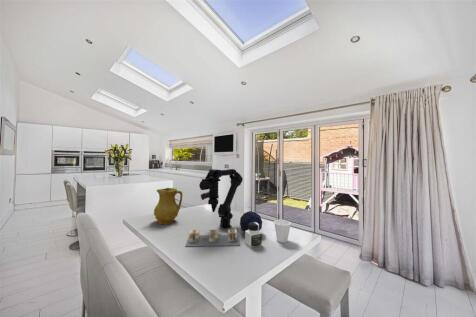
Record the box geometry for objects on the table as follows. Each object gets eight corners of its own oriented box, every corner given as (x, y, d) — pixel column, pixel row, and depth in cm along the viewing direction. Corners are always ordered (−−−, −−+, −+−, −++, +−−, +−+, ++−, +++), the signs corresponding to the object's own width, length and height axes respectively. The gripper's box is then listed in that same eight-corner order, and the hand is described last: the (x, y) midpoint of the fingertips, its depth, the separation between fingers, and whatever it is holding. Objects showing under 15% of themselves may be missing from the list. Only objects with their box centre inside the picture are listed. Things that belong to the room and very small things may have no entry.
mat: (237, 235, 120) (237, 234, 120) (240, 245, 106) (240, 244, 106) (189, 236, 118) (189, 235, 118) (185, 246, 104) (185, 245, 104)
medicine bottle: (251, 248, 104) (251, 226, 104) (244, 242, 110) (245, 222, 110) (261, 245, 107) (262, 224, 107) (255, 240, 114) (255, 220, 113)
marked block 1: (199, 238, 114) (199, 229, 114) (198, 242, 109) (198, 233, 109) (190, 238, 113) (190, 229, 113) (189, 242, 108) (189, 233, 108)
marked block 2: (236, 237, 116) (236, 229, 116) (236, 241, 111) (237, 232, 111) (227, 237, 115) (228, 229, 115) (228, 241, 110) (228, 232, 110)
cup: (291, 238, 117) (291, 220, 117) (290, 245, 108) (290, 226, 108) (274, 236, 120) (275, 218, 120) (272, 242, 111) (272, 224, 111)
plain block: (217, 237, 115) (218, 229, 115) (217, 241, 110) (217, 232, 110) (209, 238, 114) (209, 229, 114) (208, 241, 109) (209, 233, 109)
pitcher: (161, 216, 153) (162, 185, 152) (183, 219, 150) (185, 188, 149) (148, 224, 136) (149, 190, 135) (172, 228, 133) (174, 192, 132)
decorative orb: (267, 223, 128) (254, 204, 131) (265, 231, 114) (250, 210, 116) (251, 234, 131) (238, 215, 134) (246, 243, 117) (232, 222, 119)
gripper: (202, 186, 134) (202, 208, 134) (200, 190, 116) (199, 216, 116) (218, 186, 135) (218, 208, 135) (218, 190, 117) (217, 216, 117)
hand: (213, 211), depth 126 cm, fingers closed
